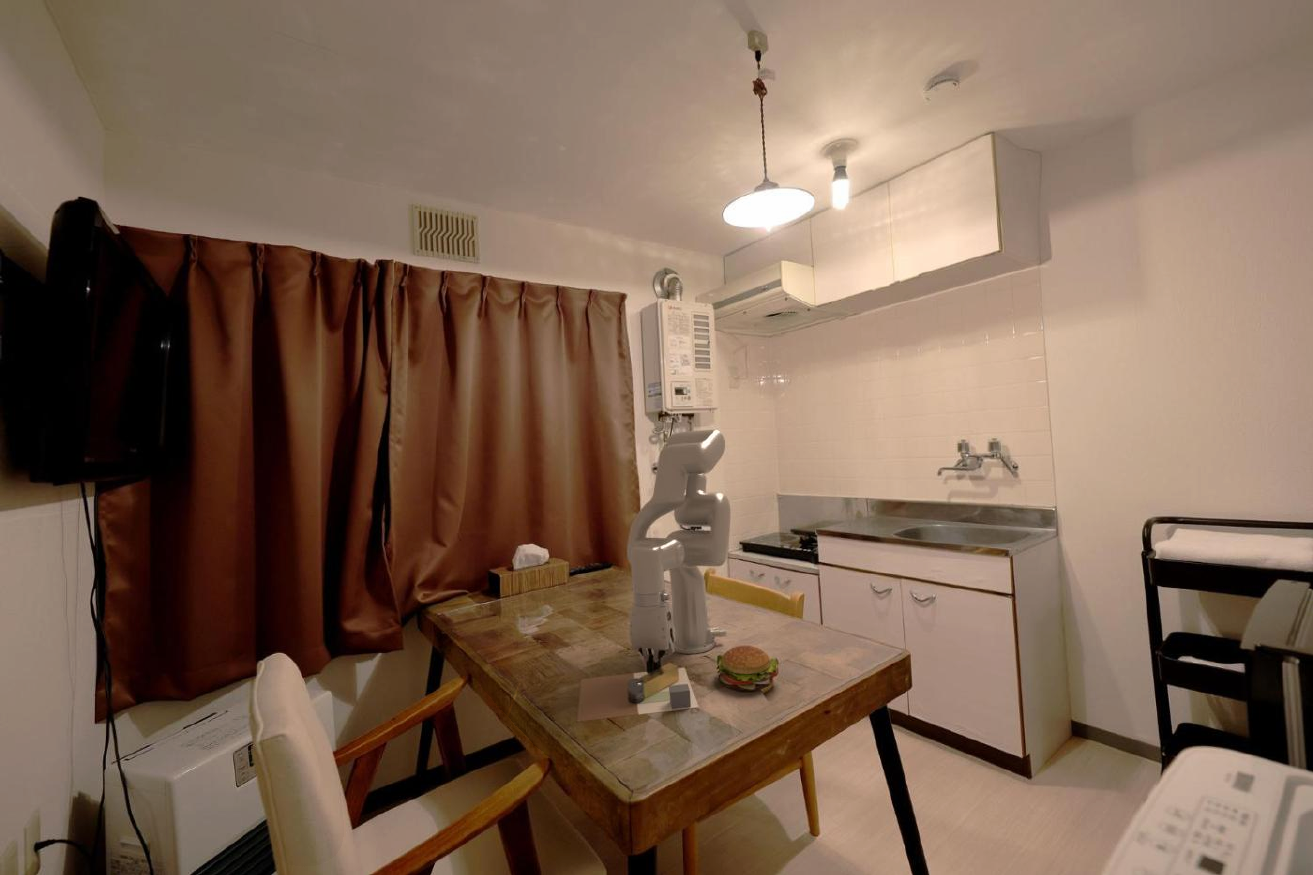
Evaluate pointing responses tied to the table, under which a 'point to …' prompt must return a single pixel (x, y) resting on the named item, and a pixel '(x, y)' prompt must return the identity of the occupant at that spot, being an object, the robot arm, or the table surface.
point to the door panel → (612, 697)
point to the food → (747, 669)
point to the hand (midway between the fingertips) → (654, 676)
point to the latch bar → (652, 683)
